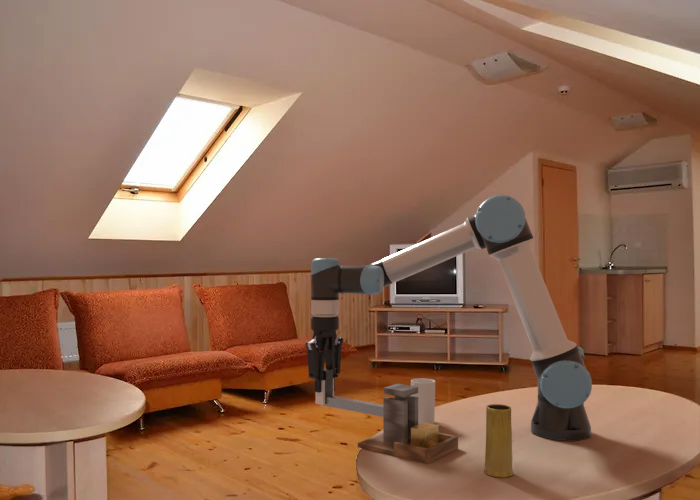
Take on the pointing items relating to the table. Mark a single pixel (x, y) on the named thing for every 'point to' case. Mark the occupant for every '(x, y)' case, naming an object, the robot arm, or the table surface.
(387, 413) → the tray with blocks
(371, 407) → the grey l-shaped bar
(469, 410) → the table surface
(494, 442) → the vase
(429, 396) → the mug
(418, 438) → the spacer
